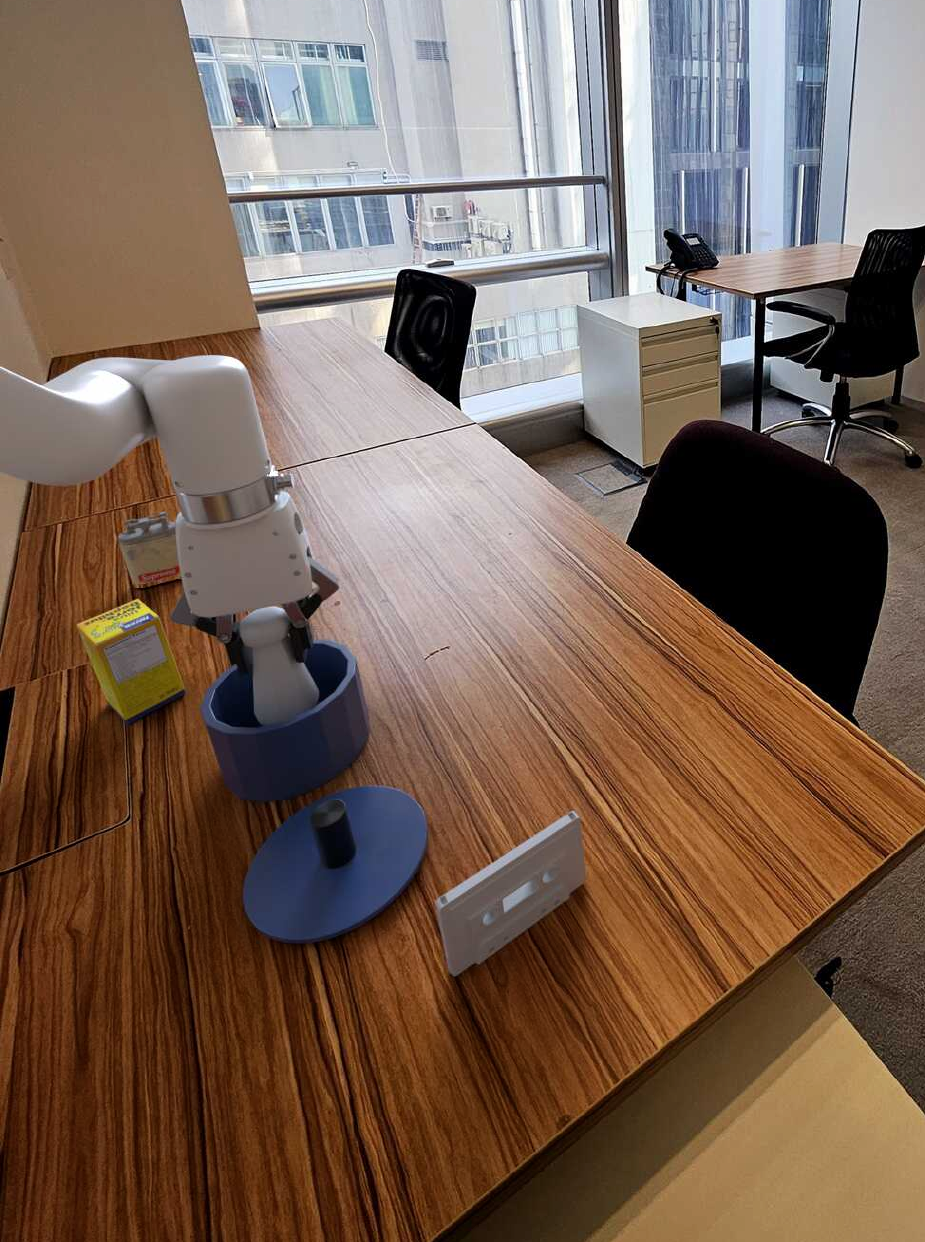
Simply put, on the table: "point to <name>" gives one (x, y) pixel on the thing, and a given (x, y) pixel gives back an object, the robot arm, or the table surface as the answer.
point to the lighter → (150, 549)
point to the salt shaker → (276, 668)
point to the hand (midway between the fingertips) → (275, 658)
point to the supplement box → (132, 660)
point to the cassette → (511, 894)
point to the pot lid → (335, 864)
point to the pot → (288, 729)
